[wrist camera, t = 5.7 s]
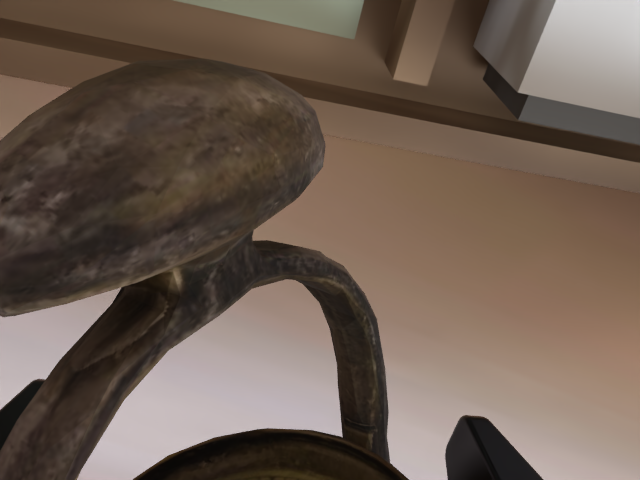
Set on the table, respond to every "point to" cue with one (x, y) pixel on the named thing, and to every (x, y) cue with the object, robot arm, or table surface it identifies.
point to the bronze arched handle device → (173, 261)
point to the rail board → (387, 68)
